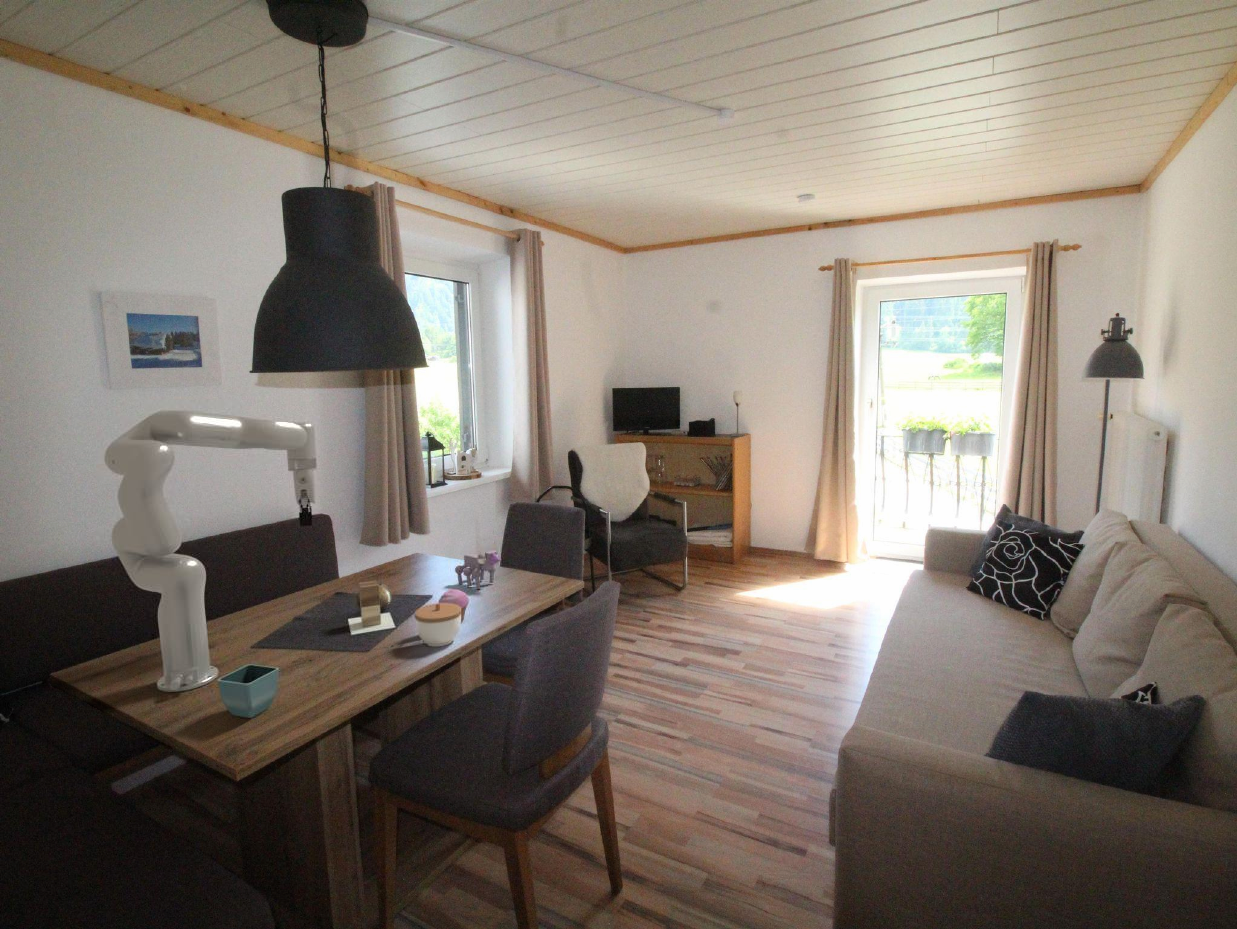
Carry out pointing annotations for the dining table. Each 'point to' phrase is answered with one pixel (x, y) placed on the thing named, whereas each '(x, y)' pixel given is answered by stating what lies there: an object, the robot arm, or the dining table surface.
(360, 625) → the plate
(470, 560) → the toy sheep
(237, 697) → the flower pot
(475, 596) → the dining table surface
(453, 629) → the lidded bowl
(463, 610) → the cupcake
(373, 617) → the maple block
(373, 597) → the walnut block
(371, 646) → the dining table surface
